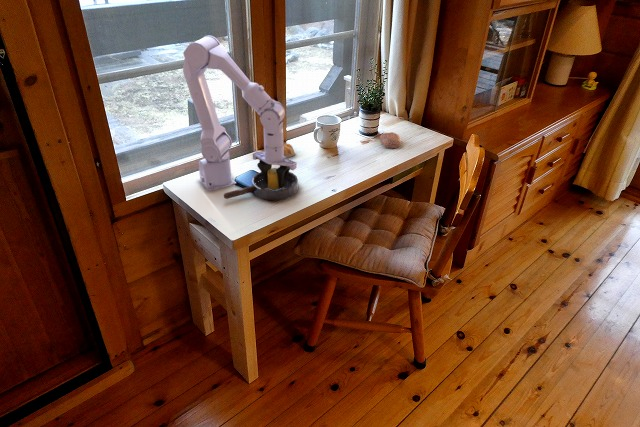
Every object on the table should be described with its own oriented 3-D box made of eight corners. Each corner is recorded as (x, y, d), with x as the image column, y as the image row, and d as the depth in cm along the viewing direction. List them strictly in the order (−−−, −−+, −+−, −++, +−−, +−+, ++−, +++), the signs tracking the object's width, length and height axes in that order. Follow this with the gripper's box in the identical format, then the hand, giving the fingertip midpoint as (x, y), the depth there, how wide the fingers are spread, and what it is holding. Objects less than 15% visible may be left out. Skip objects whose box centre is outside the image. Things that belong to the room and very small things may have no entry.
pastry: (274, 163, 163) (274, 153, 161) (263, 156, 168) (263, 146, 165) (296, 156, 168) (296, 146, 166) (285, 149, 173) (285, 140, 170)
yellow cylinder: (272, 193, 145) (271, 174, 142) (265, 187, 148) (264, 168, 145) (284, 190, 147) (284, 171, 144) (278, 183, 150) (277, 165, 147)
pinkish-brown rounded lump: (373, 141, 180) (382, 144, 173) (380, 126, 179) (389, 129, 172) (389, 149, 183) (398, 152, 176) (396, 134, 182) (406, 137, 175)
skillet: (265, 206, 140) (264, 195, 138) (245, 185, 150) (244, 175, 148) (305, 194, 146) (305, 184, 144) (284, 175, 156) (284, 165, 154)
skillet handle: (225, 200, 139) (224, 195, 138) (222, 197, 140) (222, 192, 139) (258, 191, 144) (258, 186, 143) (256, 188, 145) (255, 183, 144)
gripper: (301, 144, 140) (301, 184, 147) (261, 134, 145) (262, 173, 153) (289, 153, 134) (289, 194, 142) (247, 142, 140) (250, 182, 148)
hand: (275, 184), depth 147 cm, fingers closed on yellow cylinder, 4 cm apart
